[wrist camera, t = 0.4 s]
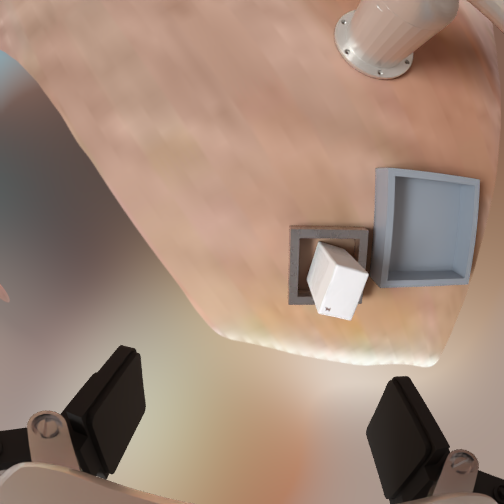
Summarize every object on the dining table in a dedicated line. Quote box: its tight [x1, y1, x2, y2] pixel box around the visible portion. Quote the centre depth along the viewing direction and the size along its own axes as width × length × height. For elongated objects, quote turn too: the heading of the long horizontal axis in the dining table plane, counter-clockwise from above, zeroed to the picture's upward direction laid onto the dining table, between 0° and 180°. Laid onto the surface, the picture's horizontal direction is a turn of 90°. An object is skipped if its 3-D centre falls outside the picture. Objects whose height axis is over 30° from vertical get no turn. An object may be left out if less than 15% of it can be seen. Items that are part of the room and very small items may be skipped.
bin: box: [369, 168, 480, 288], centre depth 38 cm, size 16×16×5 cm
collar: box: [288, 226, 369, 305], centre depth 42 cm, size 11×11×2 cm
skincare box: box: [306, 241, 369, 320], centre depth 37 cm, size 6×4×12 cm
